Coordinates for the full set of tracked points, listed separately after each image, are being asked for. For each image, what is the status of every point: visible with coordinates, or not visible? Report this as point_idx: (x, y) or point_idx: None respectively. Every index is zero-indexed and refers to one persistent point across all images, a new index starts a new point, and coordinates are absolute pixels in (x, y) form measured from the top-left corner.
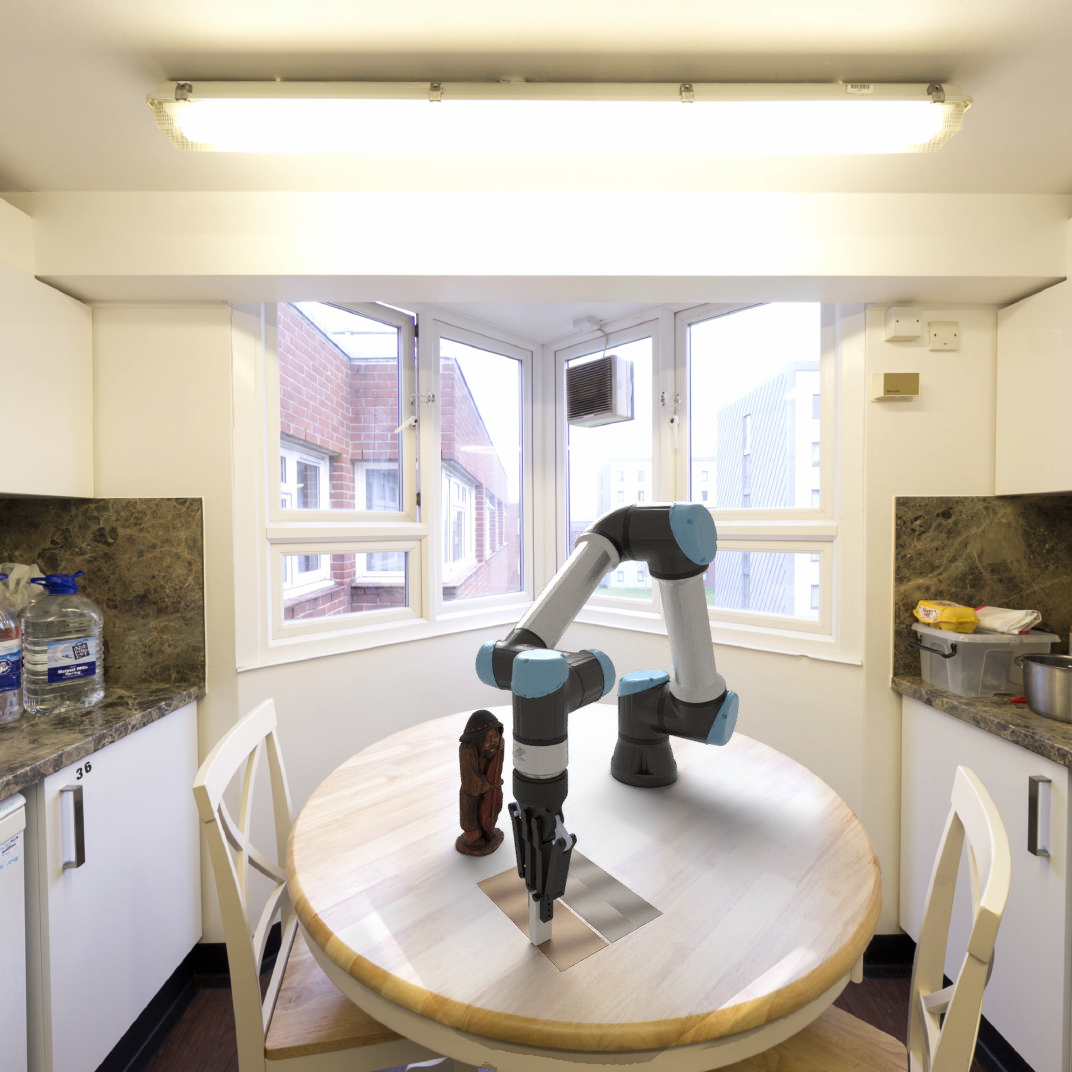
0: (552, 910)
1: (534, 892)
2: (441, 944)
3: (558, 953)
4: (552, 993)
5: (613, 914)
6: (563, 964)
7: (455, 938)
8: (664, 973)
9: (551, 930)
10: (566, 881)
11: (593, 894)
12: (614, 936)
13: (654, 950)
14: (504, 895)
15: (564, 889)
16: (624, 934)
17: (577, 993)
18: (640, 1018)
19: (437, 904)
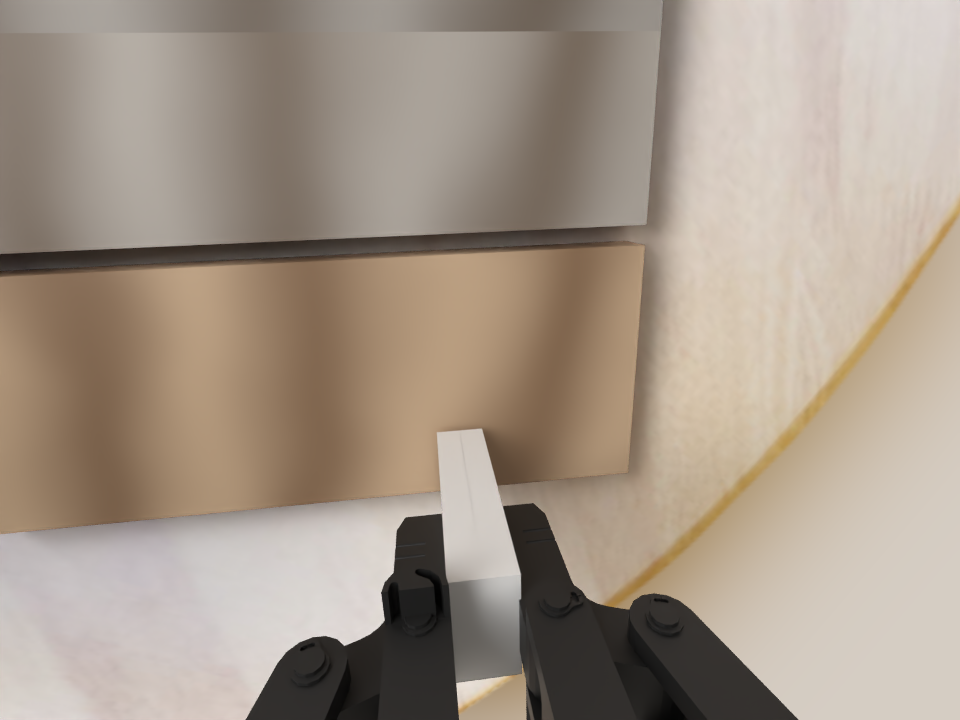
0: (552, 539)
1: (469, 658)
2: (255, 679)
3: (556, 441)
4: (622, 491)
5: (513, 75)
6: (608, 452)
7: (248, 641)
8: (824, 112)
9: (486, 445)
10: (785, 707)
11: (313, 50)
12: (626, 187)
13: (729, 43)
14: (110, 465)
15: (719, 646)
16: (649, 136)
17: (671, 431)
18: (858, 327)
19: (24, 646)
